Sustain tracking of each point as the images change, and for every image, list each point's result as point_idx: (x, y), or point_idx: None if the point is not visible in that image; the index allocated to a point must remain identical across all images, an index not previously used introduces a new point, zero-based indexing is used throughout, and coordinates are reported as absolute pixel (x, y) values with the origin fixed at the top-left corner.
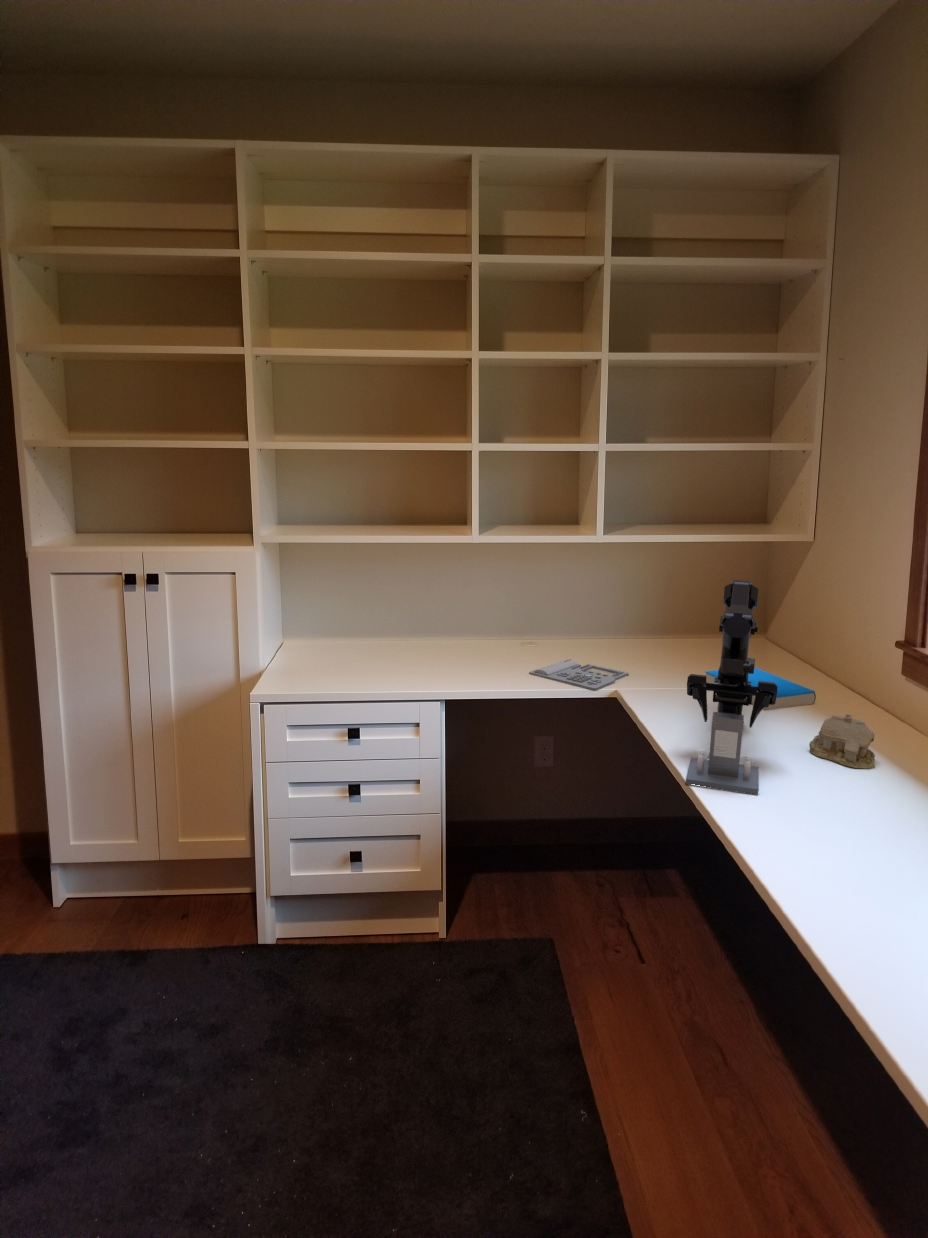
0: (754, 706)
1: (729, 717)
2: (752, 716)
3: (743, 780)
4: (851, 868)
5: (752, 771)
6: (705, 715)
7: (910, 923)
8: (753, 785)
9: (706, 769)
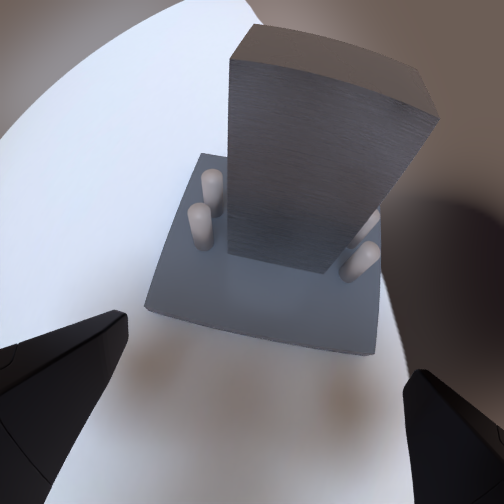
0: (7, 375)
1: (332, 44)
2: (76, 337)
3: (226, 194)
4: (161, 38)
5: (177, 263)
6: (439, 382)
7: (162, 12)
8: (207, 169)
9: None
